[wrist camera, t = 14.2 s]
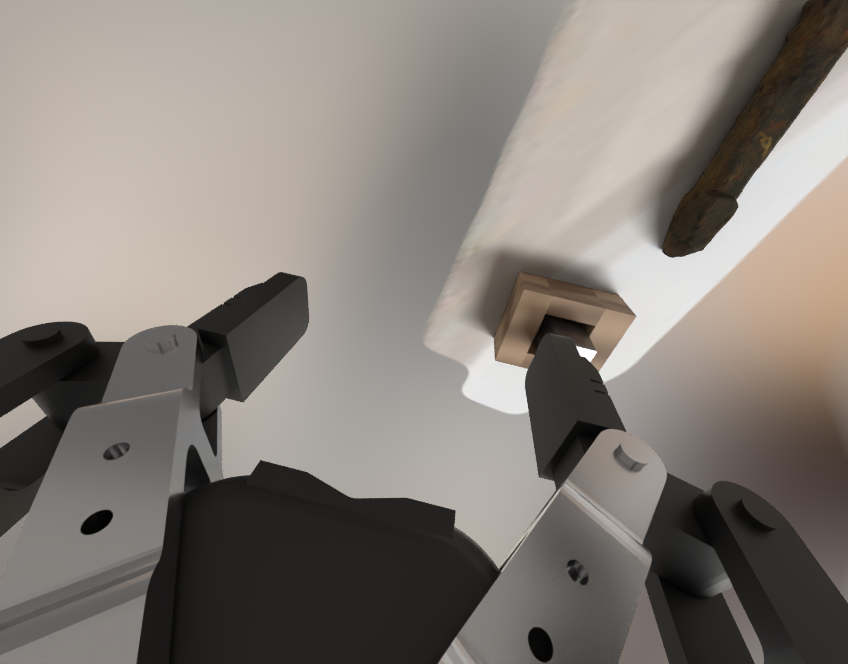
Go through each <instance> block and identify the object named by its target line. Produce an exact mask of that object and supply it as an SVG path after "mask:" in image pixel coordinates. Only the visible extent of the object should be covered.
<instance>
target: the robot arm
mask: <svg viewBox="0 0 848 664" xmlns="http://www.w3.org/2000/svg"><path fill="white" fill-rule="evenodd" d="M307 294H308V293H307V283H306V280H305V278H304V277H301V276H296V275H291V274H287V273H283V272H279V273H277V274H276V275H274V276H273V277H272V278H270V279H268V280H267V281H266V282H264V283H260V284H257V285H254V286H251V287H248V288H245V289H244V290H242V291H241V292H239V293H238V294H236V295H235V296H234V298H231V299H229V300H227V301H226V302H224V304H223V305H222V304H221V305H220V306H218V307H216V308H215V309H213V310H212V311H210V312H209V313H207V314H206V315H204V316H203V317H201V318H200V319H198V320H197V321H195V322H194V323H192V324H191V325H189V326H188V327H184V326H178V325H168V326H160V327H155V328H151V329H147V330H145V331H142V332H139V333H137V334H135V335H134V336H132V337H130V338H129V339H128V340H127V341H126V342H95V340H94V338H93V336H92V335H91V333H90V331H89V330H88V328H87V327H86V326H85V325H83V324H81V323H77V322H52V323H45V324H40V325H36V326H32V327H28V328H25V329H22V330H19V331H17V332H15V333H12V334H10V335H8V336H6V337H3V338H1V339H0V417H2V416H3V415H5V414H7V413H8V412H10V411H11V410H13V409H14V408H16V407H18V406H19V405H21V404H22V403H24V402H26V401H27V400H29V399H30V398H33V399H34V400H35V402H36V403H37V404H38V406H39V407H40V408H41V409H42V410H43V412H44V413H45V414H46V415H47V416H46V417H45V418H43V419H42V420H40V421H39V422H37V423H36V424H34V425H33V426H32V427H30V428H29V429H27V430H26V431H24V432H23V433H22V434H20V435H19V436H17V437H16V438H14V439H13V440H11V441H10V442H9V443H7V444H6V445H4V446H3V447H1V448H0V537H1V536H2V535H3V534H4V533H5V532H7V531H8V530H9V529H10V528H11V527H12V526H13V525H14V524H16V523H17V522H18V521H19V520H20V519H21V518H22V517H24V516H25V515H26V514H27V513H28V512H29V513H28V515H27V517H26V520H25V522H24V524H23V526H22V529H21V531H20V533H19V536H18V538H17V540H16V542H15V545H14V547H13V549H12V551H11V554H10V556H9V558H8V560H7V563H6V565H5V567H4V570H3V572H2V574H1V576H0V664H618V662H619V659H620V656H621V653H622V650H623V647H624V644H625V641H626V638H627V635H628V632H629V629H630V626H631V623H632V620H633V617H634V614H635V611H636V608H637V605H638V602H639V599H640V596H641V593H642V590H643V587H644V584H645V586H646V588H647V592H648V595H649V599H650V602H651V605H652V608H653V612H654V615H655V618H656V621H657V625H658V628H659V632H660V635H661V638H662V641H663V645H664V648H665V651H666V654H667V658H668V661H669V664H755V663H754V661H753V659H752V657H751V655H750V652H749V650H748V648H747V646H746V644H745V642H744V640H743V637H742V635H741V633H740V631H739V629H738V627H737V625H736V622H735V620H734V618H733V616H732V614H731V612H730V610H729V607H728V605H727V603H726V601H725V599H724V597H723V595H722V592H723V591H725V590H727V589H729V588H732V587H733V588H734V590H735V591H736V594H737V596H738V598H739V600H740V602H741V604H742V606H743V608H744V610H745V612H746V614H747V616H748V618H749V620H750V622H751V624H752V626H753V628H754V630H755V632H756V634H757V636H758V638H759V640H760V643H761V645H762V648H763V653H764V664H848V603H847V602H846V600H845V599H844V597H843V596H842V595H841V594H840V592H839V591H838V589H837V588H836V586H835V585H834V584H833V582H832V581H831V579H830V578H829V577H828V575H827V574H826V573H825V571H824V570H823V568H822V567H821V566H820V564H819V563H818V562H817V560H816V559H815V557H814V556H813V555H812V553H811V552H810V551H809V549H808V548H807V546H806V545H805V544H804V542H803V541H802V539H801V538H800V537H799V535H798V534H797V533H796V531H795V530H794V528H793V527H792V526H791V525H790V523H789V522H788V521H787V520H786V519H785V518H784V516H783V515H782V514H781V513H780V512H779V511H777V510H776V509H775V508H774V507H773V506H772V505H771V504H769V503H768V502H767V501H766V500H764V499H763V498H761V497H760V496H759V495H757V494H755V493H754V492H752V491H750V490H748V489H747V488H745V487H743V486H740V485H738V484H735V483H732V482H728V481H719V482H716V483H714V484H713V485H712V486H710V487H709V488H708V489H706V490H705V491H703V490H701V489H699V488H697V487H695V486H693V485H691V484H689V483H687V482H685V481H683V480H681V479H679V478H677V477H675V476H673V475H671V474H669V473H667V472H666V469H665V466H664V464H663V462H662V461H661V459H660V458H659V456H658V455H657V454H656V453H655V452H654V451H653V450H652V449H651V448H650V447H649V446H648V445H647V444H645V443H644V442H643V441H641V440H640V439H639V438H637V437H635V436H633V435H631V434H629V433H627V432H626V430H625V428H624V426H623V423H622V421H621V419H620V417H619V415H618V413H617V411H616V408H615V407H614V404H613V402H612V400H611V398H610V396H609V395H608V392H607V389H606V387H605V385H603V381H602V378H601V376H600V374H599V372H598V370H597V369H596V368H595V367H594V366H593V365H592V363H591V362H590V361H589V360H588V359H587V358H586V357H582V356H580V354H579V352H578V349H577V347H576V345H575V342H574V340H573V339H572V338H569V337H564V336H560V335H555V334H551V333H547V334H545V336H544V337H543V339H542V341H541V343H540V345H539V347H538V349H537V351H536V354H535V356H534V358H533V360H532V362H531V364H530V366H529V368H528V371H527V374H526V379H525V390H526V396H527V403H528V409H529V416H530V421H531V429H532V434H533V442H534V448H535V455H536V461H537V467H538V474H539V477H541V478H544V479H549V480H553V481H555V485H556V491H555V492H554V493H553V495H552V496H551V497H550V499H549V500H548V501H547V503H546V504H545V505H544V507H543V508H542V510H541V511H540V512H539V514H538V515H537V517H536V518H535V519H534V521H533V522H532V523H531V525H530V526H529V527H528V529H527V530H526V532H525V533H524V535H523V536H522V537H521V538H520V540H519V541H518V543H517V544H516V545H515V547H514V548H513V549H512V551H511V552H510V553H509V555H508V556H507V557H506V559H505V560H504V561H503V563H502V564H501V565H500V567H499V568H497V566H496V565H495V563H494V562H493V561H492V559H491V558H490V557H489V556H488V555H487V554H486V552H485V551H484V550H483V549H482V548H481V547H480V546H479V545H478V544H477V543H476V542H475V541H474V540H472V539H471V538H470V537H469V536H467V535H466V534H465V533H463V532H462V531H460V530H459V529H457V528H455V527H454V523H455V510H451V509H448V508H444V507H440V506H436V505H432V504H428V503H425V502H421V501H417V500H413V499H409V498H362V499H357V498H351V497H348V496H346V495H344V494H343V493H341V492H339V491H338V490H336V489H334V488H333V487H331V486H329V485H328V484H326V483H324V482H323V481H321V480H319V479H318V478H316V477H314V476H313V475H311V474H309V473H308V472H304V471H300V470H296V469H293V468H288V467H285V466H281V465H277V464H273V463H269V462H265V461H262V460H260V462H259V463H258V465H257V466H256V468H255V469H254V471H253V472H252V474H251V475H247V476H238V477H231V478H226V479H224V478H223V472H222V423H221V422H222V420H221V419H222V416H221V414H222V413H221V408H220V404H221V403H222V402H223V401H224V400H225V398H228V399H232V400H236V401H240V402H244V401H245V400H246V399H247V398H248V396H249V395H250V394H251V393H252V392H253V391H254V390H255V388H256V387H257V386H258V385H259V384H260V383H261V382H262V381H263V380H264V378H265V377H266V376H267V375H268V374H269V373H270V372H271V371H272V370H273V368H274V367H275V366H276V365H277V364H278V363H279V362H280V361H281V359H282V358H283V357H284V356H285V355H286V354H287V353H288V351H289V350H290V349H291V348H292V347H293V346H294V345H295V344H296V343H297V341H298V340H299V339H300V338H301V337H302V336H303V335H304V333H305V331H306V329H307V327H308V323H309V309H308V295H307Z"/></svg>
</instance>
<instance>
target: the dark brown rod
mask: <svg viewBox="0 0 848 664" xmlns="http://www.w3.org/2000/svg"><path fill="white" fill-rule="evenodd" d="M785 39H786V41H787V43H786V44H785V46H784V48H783V49H782V51H781V53H780V54H779V56H778V58H777V59H776V61H775V63H774V64H773V66H772V67H771V68H770V70H769V71H768V72H767V74H766V75H765V77H764V79H763V80H762V82H761V83H760V86H759V88H758V90H757V91H756V93H755V95H754V96H753V98H752V99H751V100H750V102H749V104H748V105H747V107H746V108H745V110H744V111H743V113H741V114H740V115H739V116H738V117H737V119H736V123H735V125H734V126H733V128H732V130H731V131H730V133H729V134H728V136H727V137H726V138H725V140H724V142H723V144H722V146H721V147H720V149H719V150H718V152H717V154H716V155H715V157H714V158H713V160H712V161H711V163H710V164H709V166H708V167H707V169H706V170H705V172H704V173H703V175H702V177H701V178H700V180H699V181H698V183H697V184H696V186H695V187H694V188H693V189H692V190H691V191H690V192H688V193H687V194H685V196H684V197H683V199H682V201H681V202H680V204H679V206H678V208H677V210H676V212H675V214H674V216H673V219H672V221H671V224H670V226H669V229H668V232H667V235H666V238H665V241H664V245H663V248H662V252H663V253H664V254H665V255H667V256H669V257H672V258H674V257H683V256H686V255H689V254H692V253H695V252H698V251H702V250H703V249H704V248H705V247H706V245H707V244H708V243H709V242H710V241H711V240H712V239H713V237H714V236H715V235H716V234H717V233H718V231H719V230H720V229H721V228H722V227H723V226H724V225H725V224H726V223H727V222H728V221H729V220H730V219H731V218H732V216H733V215H734V214H735V212H736V210H737V208H738V203H737V201H736V199H737V198H738V197H739V195H740V194H741V192H742V190H743V189H744V187H745V186H746V184H747V183H748V181H749V180H750V178H751V177H752V175H753V174H754V172H755V171H756V170H757V169H758V168H759V167H760V166H761V165H762V163H763V162H764V161H765V159H766V158H767V157H768V155H769V154H770V152H771V151H772V150H773V148H774V147H775V146H776V144H777V143H778V141H779V140H780V139H781V138H782V136H783V135H784V134H785V132H786V131H787V130H788V128H789V127H790V126H791V124H792V123H793V121H794V120H795V119H796V118H797V116H798V115H799V113H800V112H801V110H802V109H803V108H804V106H805V105H806V104H807V102H808V101H809V100H810V98H811V97H812V96H813V94H814V93H815V92H816V90H817V89H818V87H819V86H820V85H821V83H822V82H823V81H824V80H825V78H826V77H827V75H828V74H829V72H830V71H831V69H832V68H833V66H834V65H835V63H836V62H837V61H838V60H839V58H840V57H841V56H842V54H843V53H844V52H845V50H846V49H847V47H848V0H810V1H808V2H807V3H806V4H805V5H804V6H803V7H802V19H801V21H800V22H799V23H798V24H797V25H796V26H795V27H794V28H793V29H792V30H791V31H790V32H789V33H788V34H787V35H786V38H785Z"/></svg>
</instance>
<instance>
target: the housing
mask: <svg viewBox="0 0 848 664" xmlns="http://www.w3.org/2000/svg"><path fill="white" fill-rule="evenodd" d="M545 314H548V315H552V316H556V317H560V318H564V319H569V320H573V321H577V322H581V323H583V325H584V327H585V329H586V331H587V333H588V335H589V337H590V339H591V341H592V343H593V345H594V347H595V348H596V350H597V353H596V354H595V356H594V357H593V359H592V360H591V363H592V365H593V366H594V367H595V368H596V369H597V370H598V372H599V371H600V369H601V368H602V366H603V365H604V363H605V362H606V360H607V359H608V357H609V356H610V354H611V353H612V351H613V350H614V348H615V347H616V345H617V344H618V343H619V341H620V340H621V338H622V337H623V335H624V334H625V332H626V331H627V329H628V328H629V326H630V325H631V323H632V322H633V320H634V319H635V317H636V315H635V314H634V313H633V312H632V310H631V309H630V308H629V307H628V306H627V304H626V303H625V302H624V301H623V299H622V298H621V297H620V296H619V295H616V294H611V293H607V292H603V291H599V290H595V289H590V288H586V287H582V286H578V285H573V284H569V283H565V282H561V281H556V280H552V279H548V278H544V277H540V276H535V275H531V274H527V273H523V272H519V275H518V277H517V280H516V283H515V285H514V288H513V290H512V293H511V296H510V298H509V301H508V303H507V306H506V308H505V311H504V314H503V316H502V319H501V321H500V324H499V327H498V329H497V332H496V334H495V337H494V348H495V361H499V362H503V363H507V364H511V365H515V366H519V367H523V368H527V369H528V368H529V366H530V364H531V362H532V360H533V358H534V356H535V354H536V351H537V349H536V345H535V341H534V337H535V335H536V333H537V331H538V328H539V326H540V324H541V322H542V320H543V318H544V316H545Z"/></svg>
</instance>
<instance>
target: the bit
mask: <svg viewBox="0 0 848 664" xmlns="http://www.w3.org/2000/svg"><path fill="white" fill-rule="evenodd" d="M547 333H551V334H555V335H560V336H564V337H569V338H572V339H573V340H574V342H575V345H576V347H577V349H578V352H579V354H580V356H582V357H586V358H587V359H588V360H589V361H590V362H591V360H592V359H593V357H594V356H595V354H596V353H597V350H596V348H595V347H594V345H593V343H592V341H591V339H590V337H589V335H588V333H587V331H586V329H585V327H584V325H583V323H581V322H577V321H573V320H569V319H564V318H560V317H556V316H552V315H548V314H545V316H544V318H543V320H542V322H541V324H540V326H539V328H538V331H537V333H536V335H535V337H534V341H535V345H536V349H538V347H539V345H540V343H541V341H542V339H543V337H544V336H545V334H547Z"/></svg>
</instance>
